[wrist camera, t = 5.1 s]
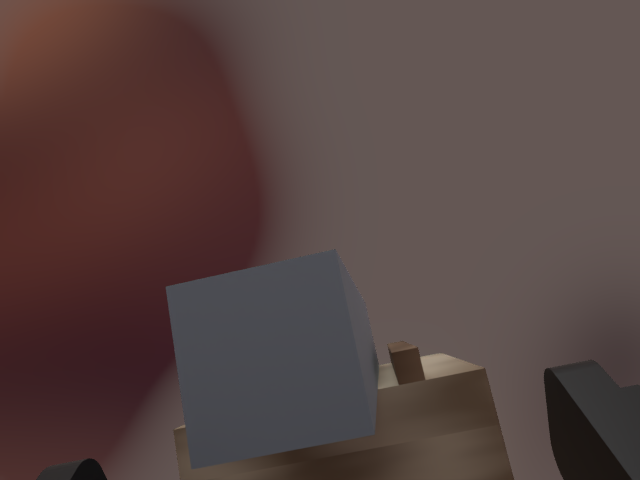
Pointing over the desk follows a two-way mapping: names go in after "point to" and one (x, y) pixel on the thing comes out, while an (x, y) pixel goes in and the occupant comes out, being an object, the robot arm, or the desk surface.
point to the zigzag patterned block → (395, 432)
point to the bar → (273, 359)
